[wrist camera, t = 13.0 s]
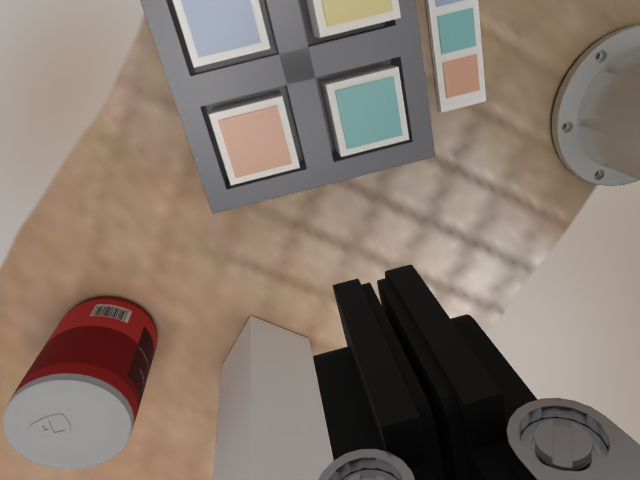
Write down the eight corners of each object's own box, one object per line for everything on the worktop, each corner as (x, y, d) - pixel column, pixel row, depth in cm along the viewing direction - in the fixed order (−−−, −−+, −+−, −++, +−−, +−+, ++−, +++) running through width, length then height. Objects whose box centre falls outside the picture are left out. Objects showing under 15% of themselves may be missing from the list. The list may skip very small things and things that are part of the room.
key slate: (248, -33, 32) (248, -40, 29) (268, 47, 34) (270, 48, 31) (173, -15, 32) (165, -20, 29) (198, 64, 34) (193, 67, 31)
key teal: (386, 63, 36) (399, 67, 32) (396, 131, 38) (410, 140, 34) (319, 80, 35) (326, 85, 32) (333, 147, 37) (342, 157, 34)
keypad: (387, -101, 32) (400, -114, 30) (421, 147, 39) (435, 156, 36) (134, -41, 32) (124, -48, 29) (215, 201, 39) (212, 214, 36)
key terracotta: (279, 90, 35) (282, 96, 32) (296, 157, 37) (300, 168, 34) (211, 107, 35) (208, 115, 32) (232, 173, 37) (230, 186, 34)
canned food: (41, 317, 40) (-27, 411, 30) (128, 278, 40) (89, 360, 30) (94, 383, 44) (48, 488, 34) (175, 347, 43) (153, 442, 33)
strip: (469, -60, 34) (474, -62, 33) (482, 100, 38) (487, 101, 38) (419, -47, 34) (423, -49, 33) (438, 111, 38) (442, 113, 38)
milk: (309, 337, 45) (363, 584, 25) (278, 387, 47) (305, 656, 26) (249, 313, 43) (254, 560, 23) (219, 366, 45) (200, 639, 25)
